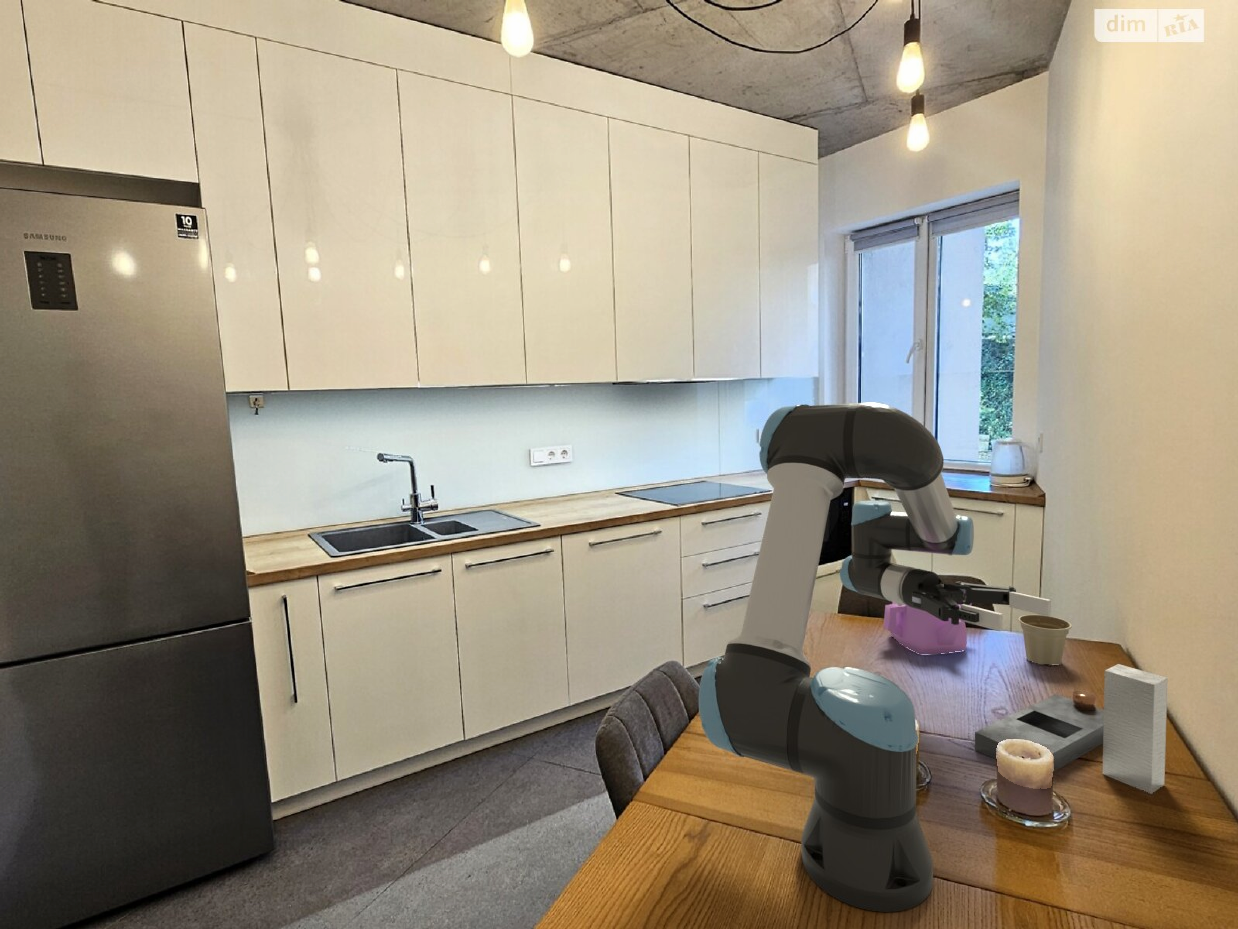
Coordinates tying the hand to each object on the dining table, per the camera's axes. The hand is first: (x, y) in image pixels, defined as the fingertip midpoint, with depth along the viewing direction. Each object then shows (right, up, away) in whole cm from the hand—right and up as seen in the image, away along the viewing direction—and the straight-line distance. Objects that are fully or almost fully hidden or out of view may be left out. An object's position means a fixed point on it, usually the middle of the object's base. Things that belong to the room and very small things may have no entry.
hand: (1026, 615), depth 105 cm
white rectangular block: (+9, -22, -11) cm, 26 cm away
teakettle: (+5, -17, +44) cm, 47 cm away
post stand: (+4, -21, 0) cm, 21 cm away
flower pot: (+24, -17, +31) cm, 43 cm away
